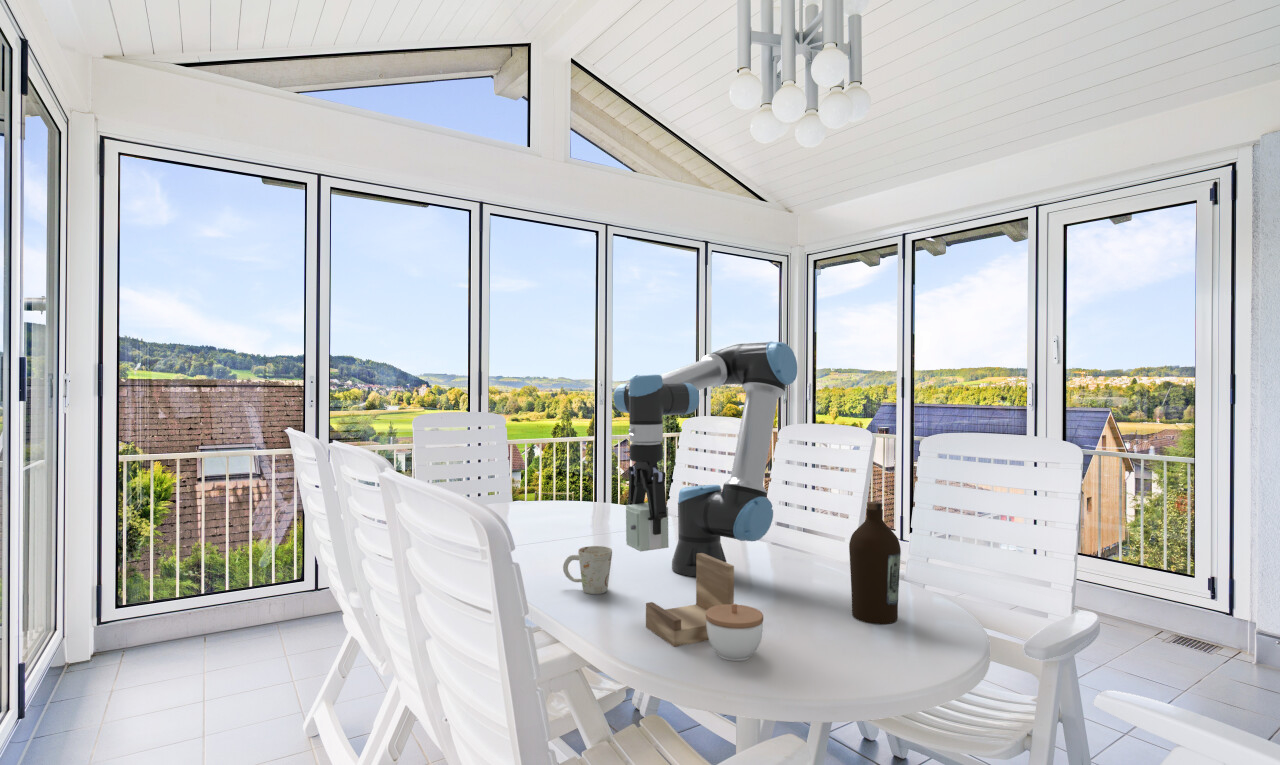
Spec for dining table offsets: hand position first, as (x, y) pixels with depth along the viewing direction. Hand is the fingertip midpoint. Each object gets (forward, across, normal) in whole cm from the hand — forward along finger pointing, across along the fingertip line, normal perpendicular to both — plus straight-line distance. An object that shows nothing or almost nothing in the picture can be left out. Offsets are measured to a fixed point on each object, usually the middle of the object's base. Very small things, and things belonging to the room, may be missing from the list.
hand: (646, 544), depth 150 cm
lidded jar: (+15, +30, +3) cm, 33 cm away
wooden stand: (+15, +16, +1) cm, 21 cm away
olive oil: (+15, +26, +42) cm, 52 cm away
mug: (+15, -20, -7) cm, 26 cm away
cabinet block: (0, 0, 0) cm, 0 cm away
